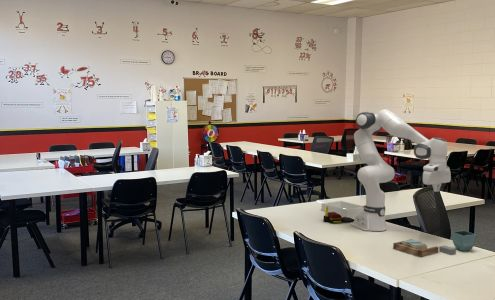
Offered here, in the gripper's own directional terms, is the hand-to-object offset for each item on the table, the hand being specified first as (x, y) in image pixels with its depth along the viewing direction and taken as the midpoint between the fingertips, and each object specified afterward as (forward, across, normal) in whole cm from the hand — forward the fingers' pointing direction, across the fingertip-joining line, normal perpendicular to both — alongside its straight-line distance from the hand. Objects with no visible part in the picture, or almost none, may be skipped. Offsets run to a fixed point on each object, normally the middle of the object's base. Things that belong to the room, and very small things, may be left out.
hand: (436, 191), depth 270 cm
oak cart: (+28, +26, +8) cm, 39 cm away
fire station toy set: (+30, +17, -59) cm, 68 cm away
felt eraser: (+28, +14, +19) cm, 37 cm away
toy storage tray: (+29, -3, -76) cm, 82 cm away
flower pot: (+28, +2, +20) cm, 34 cm away
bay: (+28, +25, +8) cm, 38 cm away
